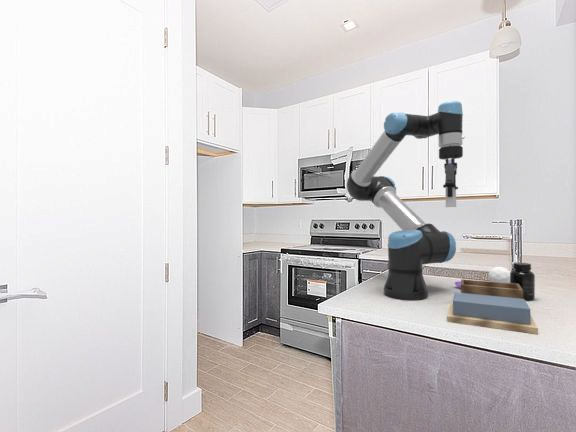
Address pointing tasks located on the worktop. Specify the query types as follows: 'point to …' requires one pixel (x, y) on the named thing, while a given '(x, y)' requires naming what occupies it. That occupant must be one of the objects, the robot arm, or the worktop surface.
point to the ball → (499, 275)
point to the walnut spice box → (491, 288)
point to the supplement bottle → (524, 279)
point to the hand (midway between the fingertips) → (451, 207)
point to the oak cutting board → (492, 323)
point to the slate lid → (491, 308)
